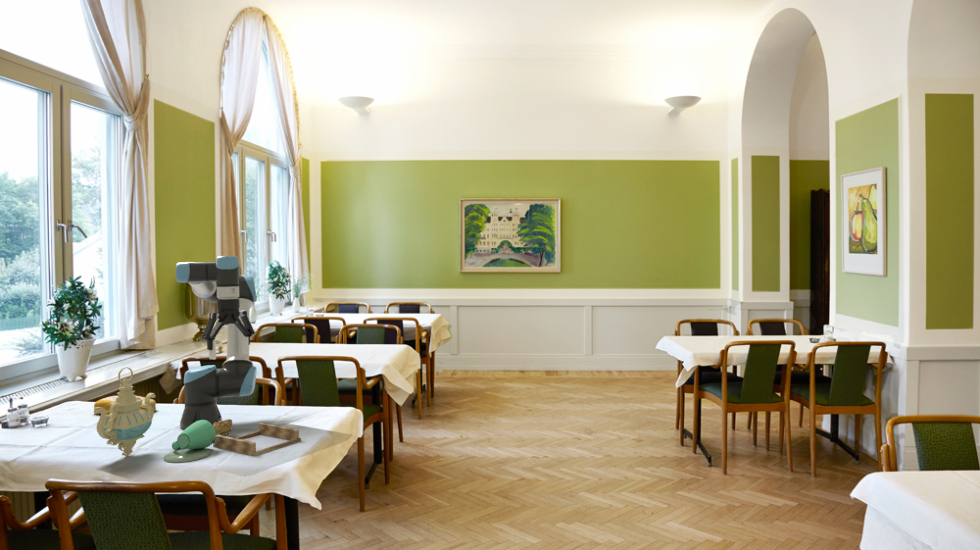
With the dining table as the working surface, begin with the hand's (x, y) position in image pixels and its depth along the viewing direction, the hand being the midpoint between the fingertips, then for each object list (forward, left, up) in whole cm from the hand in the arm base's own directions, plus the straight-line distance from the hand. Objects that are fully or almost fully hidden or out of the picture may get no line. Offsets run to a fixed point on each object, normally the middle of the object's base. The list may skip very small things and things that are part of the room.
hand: (229, 356), depth 223 cm
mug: (0, -21, -26) cm, 34 cm away
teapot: (-15, -29, -31) cm, 45 cm away
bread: (-78, +4, -31) cm, 84 cm away
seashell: (-6, -2, -32) cm, 33 cm away
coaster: (+3, -19, -31) cm, 36 cm away
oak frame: (+12, +2, -31) cm, 33 cm away
